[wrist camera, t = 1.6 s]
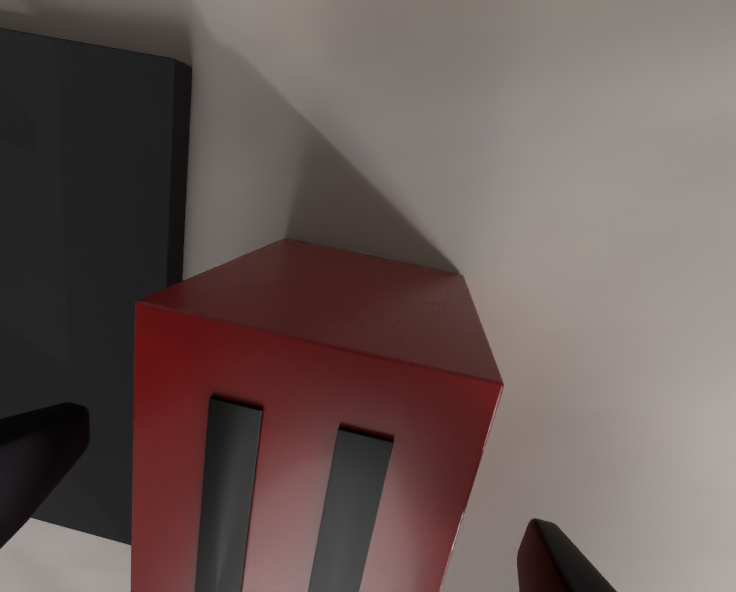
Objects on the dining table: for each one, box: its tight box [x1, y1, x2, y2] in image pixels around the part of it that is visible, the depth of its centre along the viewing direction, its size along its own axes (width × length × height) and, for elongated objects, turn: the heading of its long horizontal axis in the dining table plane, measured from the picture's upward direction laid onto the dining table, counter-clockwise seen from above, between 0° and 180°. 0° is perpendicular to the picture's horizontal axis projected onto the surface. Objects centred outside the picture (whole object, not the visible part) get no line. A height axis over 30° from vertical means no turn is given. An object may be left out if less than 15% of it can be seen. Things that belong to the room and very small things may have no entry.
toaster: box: [131, 238, 504, 592], centre depth 13 cm, size 13×6×8 cm, turn 170°
